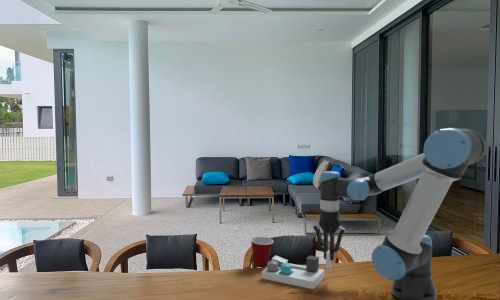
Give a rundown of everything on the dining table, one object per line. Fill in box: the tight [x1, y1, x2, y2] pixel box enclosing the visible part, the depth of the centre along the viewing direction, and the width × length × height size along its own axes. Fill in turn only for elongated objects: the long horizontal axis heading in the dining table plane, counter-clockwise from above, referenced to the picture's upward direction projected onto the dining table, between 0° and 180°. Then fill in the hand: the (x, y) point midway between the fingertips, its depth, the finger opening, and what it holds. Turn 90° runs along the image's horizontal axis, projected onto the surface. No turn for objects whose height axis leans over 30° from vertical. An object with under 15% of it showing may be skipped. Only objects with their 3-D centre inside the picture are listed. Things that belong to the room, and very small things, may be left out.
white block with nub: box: [270, 255, 289, 265], centre depth 154 cm, size 6×4×1 cm, turn 61°
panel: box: [261, 262, 326, 290], centre depth 147 cm, size 22×14×4 cm, turn 61°
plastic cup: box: [249, 236, 274, 269], centre depth 162 cm, size 11×11×12 cm
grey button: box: [266, 260, 278, 272], centre depth 148 cm, size 4×4×3 cm
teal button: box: [281, 263, 292, 275], centre depth 145 cm, size 4×4×3 cm
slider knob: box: [305, 255, 320, 272], centre depth 147 cm, size 4×4×5 cm
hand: (328, 267), depth 144 cm, fingers closed
